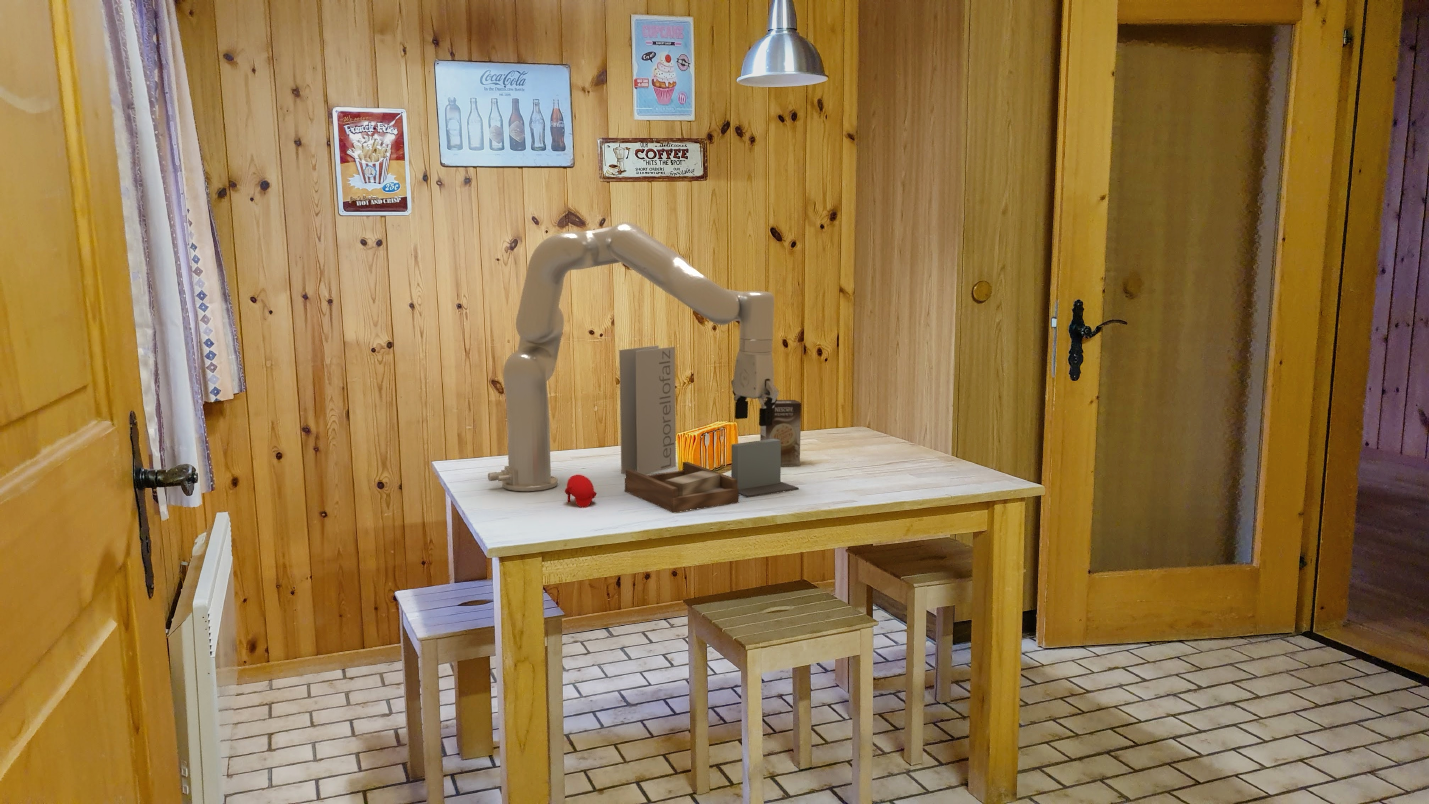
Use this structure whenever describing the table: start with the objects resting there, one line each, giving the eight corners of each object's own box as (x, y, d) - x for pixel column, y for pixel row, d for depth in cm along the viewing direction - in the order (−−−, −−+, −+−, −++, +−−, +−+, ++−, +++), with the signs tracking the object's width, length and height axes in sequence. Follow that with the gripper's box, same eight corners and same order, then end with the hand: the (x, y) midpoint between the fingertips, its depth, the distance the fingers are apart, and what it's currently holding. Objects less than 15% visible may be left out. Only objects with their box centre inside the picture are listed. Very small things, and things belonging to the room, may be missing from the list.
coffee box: (764, 467, 256) (765, 403, 253) (759, 462, 262) (759, 399, 259) (800, 466, 257) (801, 402, 255) (794, 460, 263) (795, 398, 261)
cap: (558, 485, 223) (559, 476, 218) (583, 474, 225) (585, 465, 220) (574, 517, 221) (576, 509, 216) (600, 506, 223) (602, 497, 218)
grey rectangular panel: (737, 489, 231) (737, 446, 229) (731, 487, 233) (731, 444, 231) (780, 482, 237) (780, 440, 236) (774, 480, 239) (774, 438, 238)
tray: (674, 512, 213) (673, 489, 212) (624, 491, 232) (624, 469, 231) (738, 502, 221) (738, 479, 221) (686, 482, 240) (686, 461, 239)
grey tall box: (638, 476, 246) (636, 351, 241) (621, 473, 249) (619, 350, 245) (675, 466, 257) (674, 346, 253) (659, 463, 260) (657, 345, 256)
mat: (747, 497, 226) (747, 495, 226) (713, 484, 237) (713, 483, 237) (798, 489, 233) (798, 487, 233) (763, 477, 245) (763, 475, 245)
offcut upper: (682, 497, 215) (682, 483, 215) (665, 493, 218) (665, 480, 218) (720, 487, 224) (720, 474, 224) (702, 483, 227) (702, 470, 227)
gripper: (720, 343, 235) (718, 417, 238) (764, 351, 221) (761, 429, 224) (748, 342, 239) (745, 414, 242) (792, 350, 225) (789, 427, 228)
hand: (753, 422), depth 233 cm, fingers open, 9 cm apart
